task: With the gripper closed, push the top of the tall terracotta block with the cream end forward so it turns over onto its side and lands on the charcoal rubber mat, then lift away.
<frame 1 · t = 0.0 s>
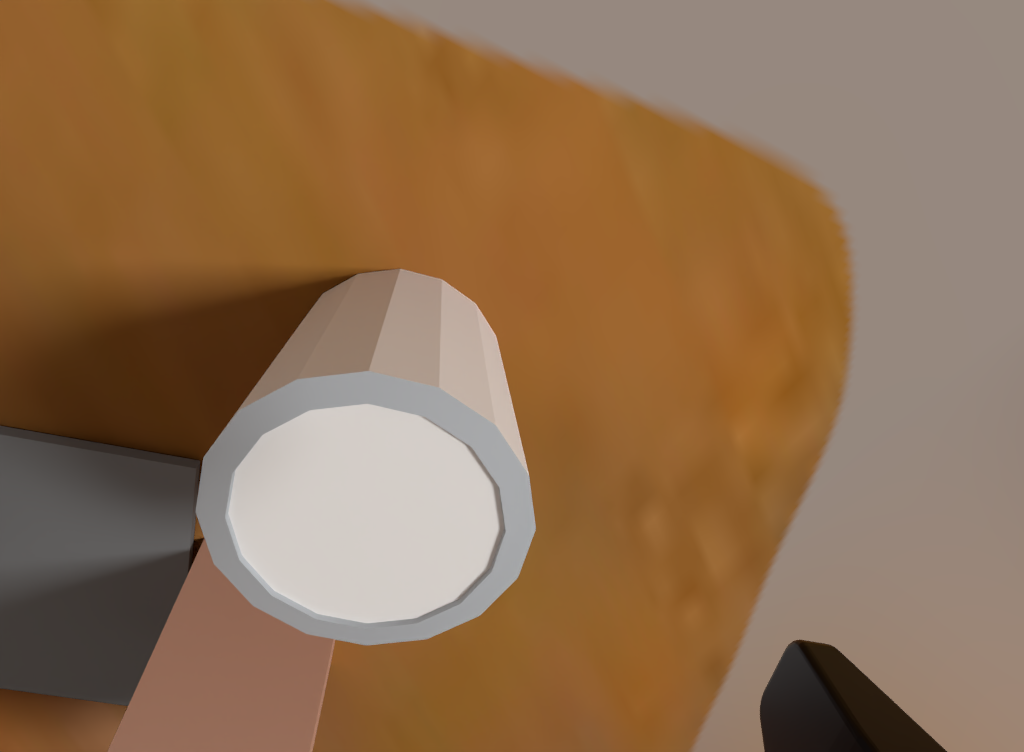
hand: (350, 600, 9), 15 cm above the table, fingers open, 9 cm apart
block: (270, 603, 28), on the table
mat: (56, 571, 27), on the table
white cup: (398, 362, 24), on the table
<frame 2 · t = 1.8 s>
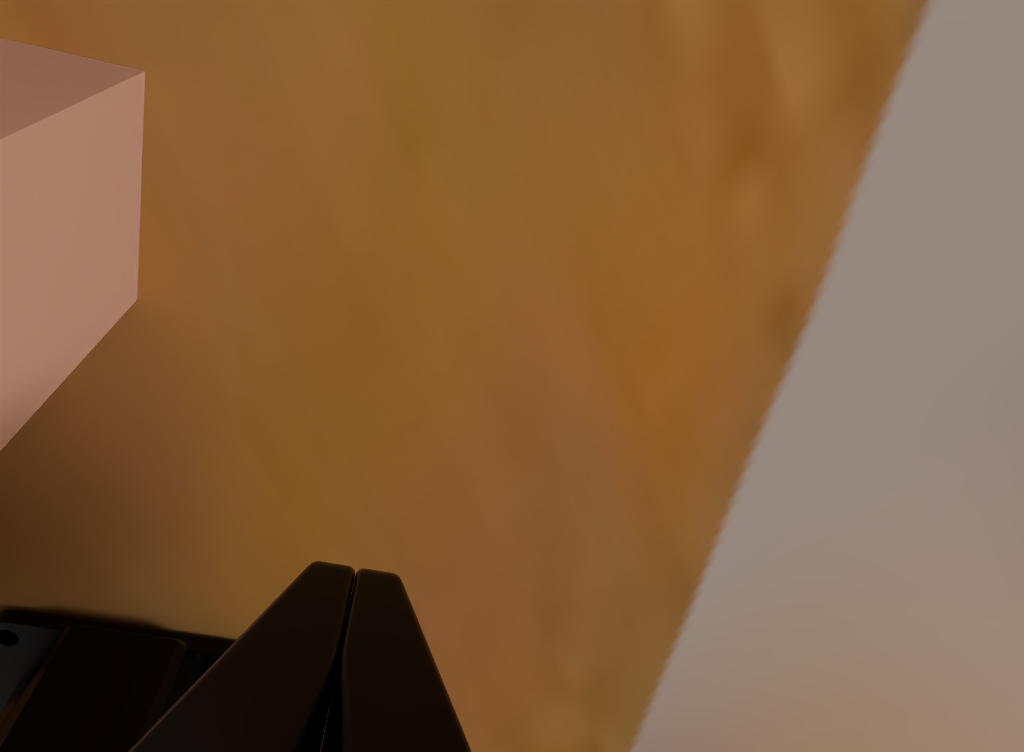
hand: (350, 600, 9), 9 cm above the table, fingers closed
block: (16, 166, 16), on the table
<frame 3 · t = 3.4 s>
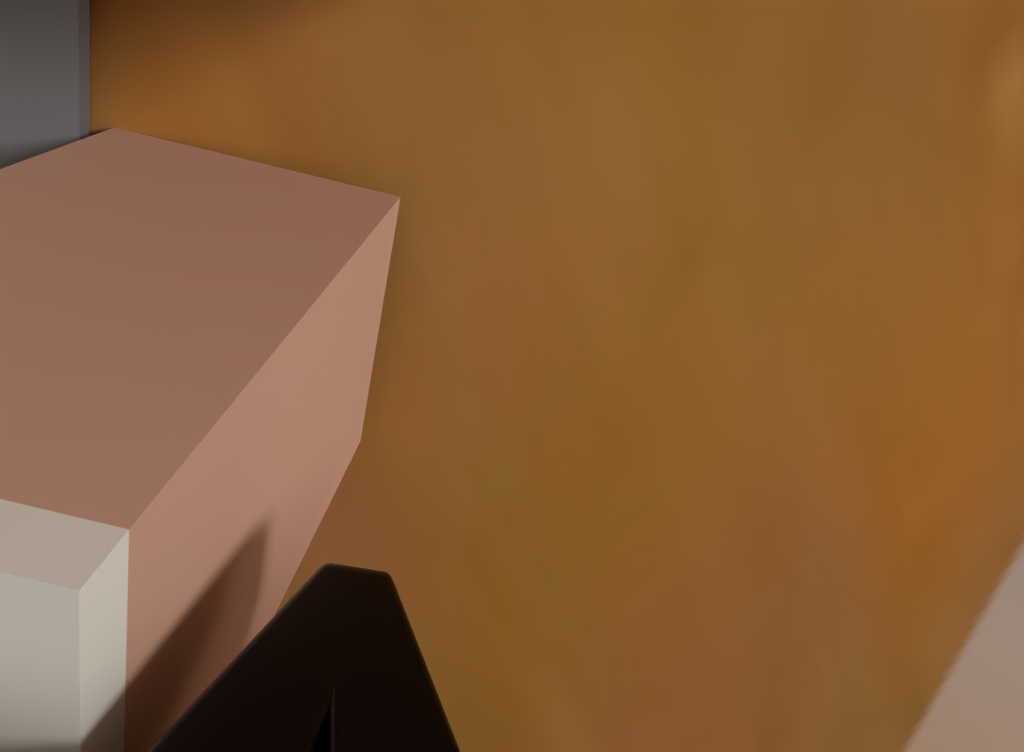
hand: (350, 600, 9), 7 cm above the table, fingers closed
block: (246, 295, 14), on the table, tilted 8°, touching gripper
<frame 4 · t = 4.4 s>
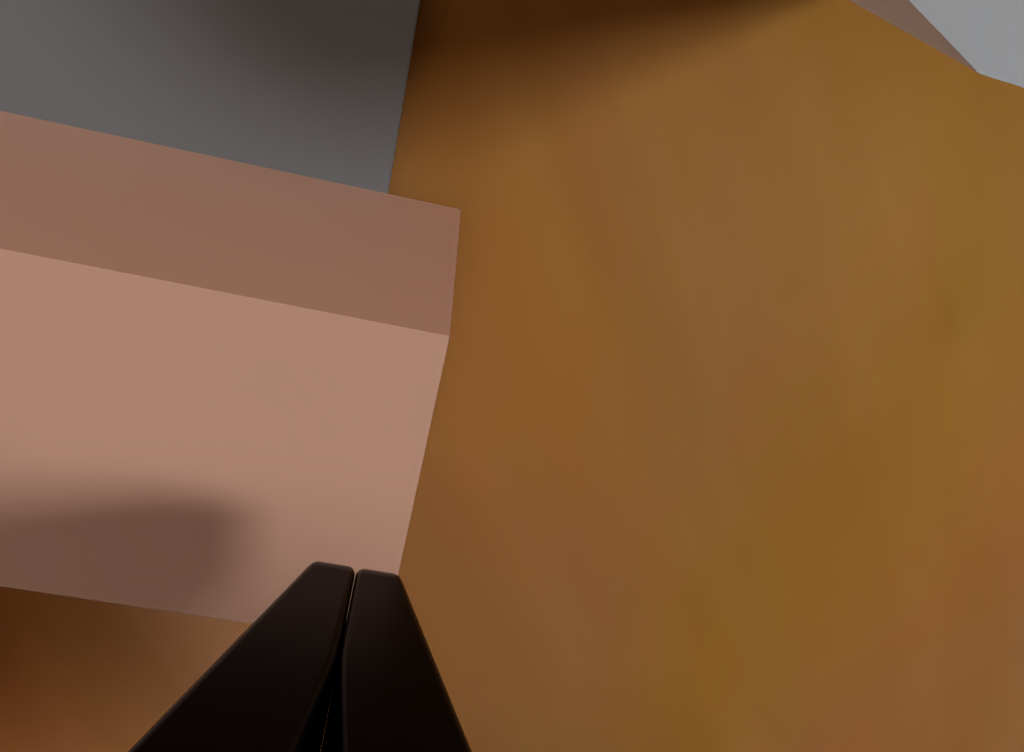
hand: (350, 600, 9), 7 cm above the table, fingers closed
block: (425, 409, 12), point 3 cm above the table, tilted 90°, touching mat
mat: (113, 265, 14), on the table
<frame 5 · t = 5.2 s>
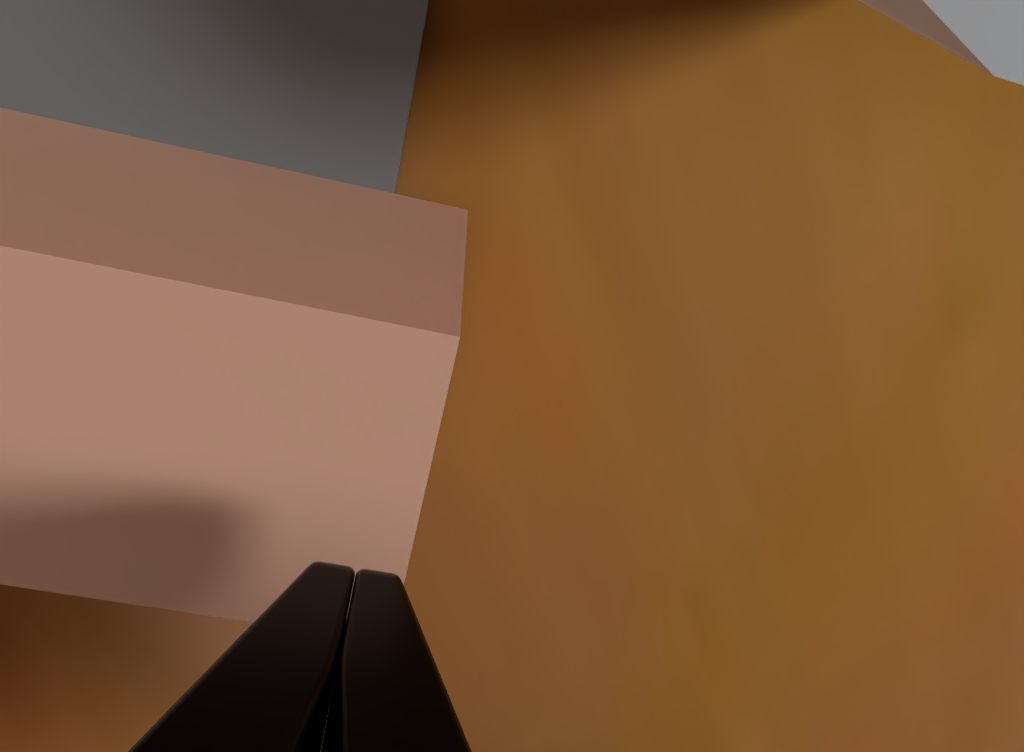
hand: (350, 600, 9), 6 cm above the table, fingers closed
block: (432, 409, 12), point 3 cm above the table, tilted 90°, touching mat
mat: (119, 264, 14), on the table
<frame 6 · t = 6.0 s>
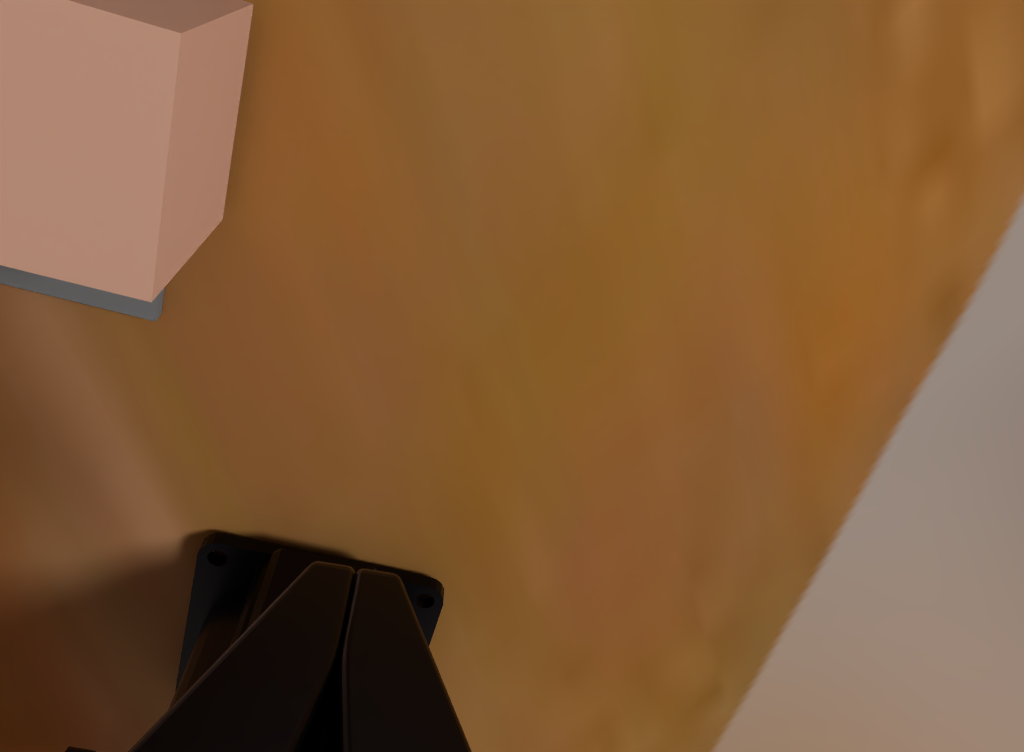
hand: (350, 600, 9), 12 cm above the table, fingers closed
block: (205, 143, 16), point 3 cm above the table, tilted 90°, touching mat
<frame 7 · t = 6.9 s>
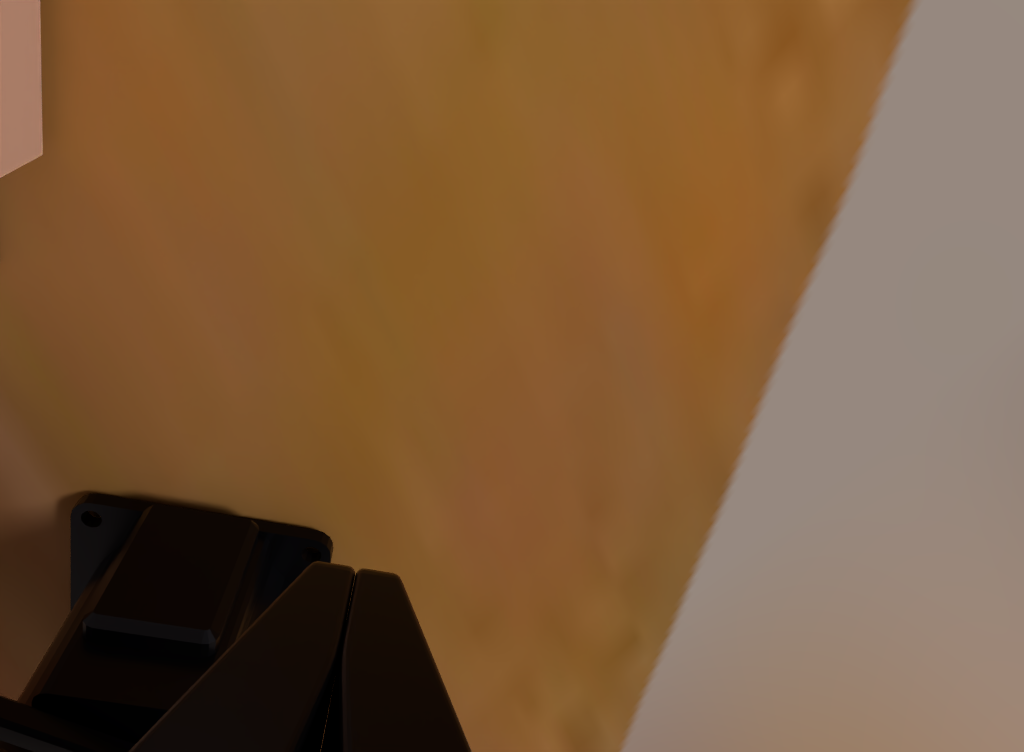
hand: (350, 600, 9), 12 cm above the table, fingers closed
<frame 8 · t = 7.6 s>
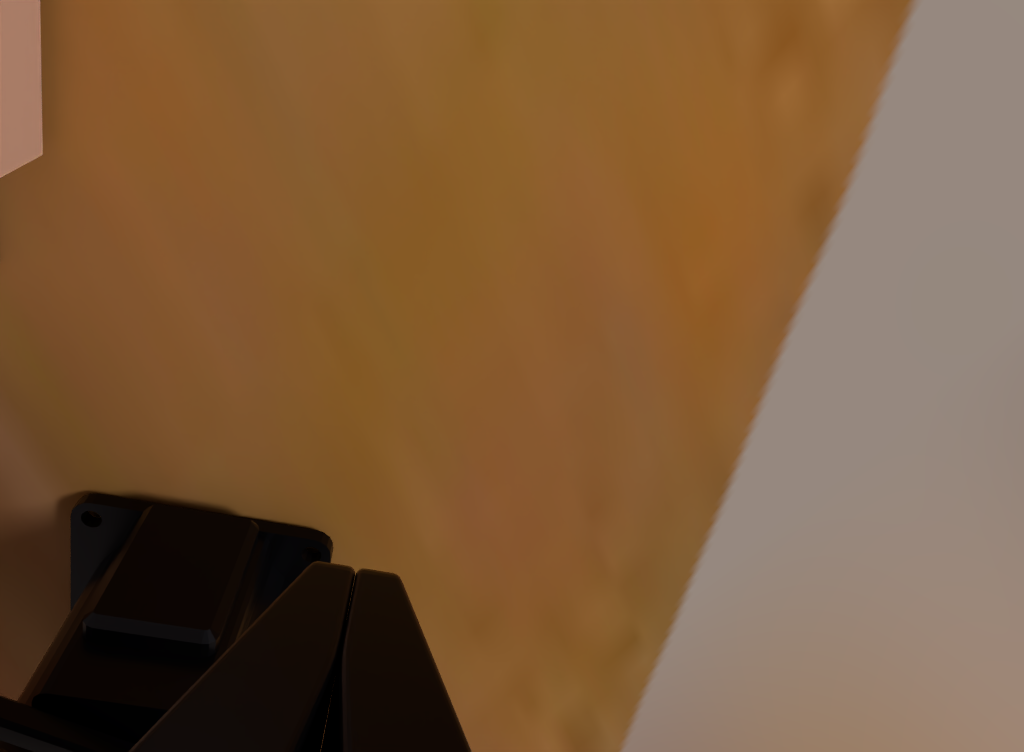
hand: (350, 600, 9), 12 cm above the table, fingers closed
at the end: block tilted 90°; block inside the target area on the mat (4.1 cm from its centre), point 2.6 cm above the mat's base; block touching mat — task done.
